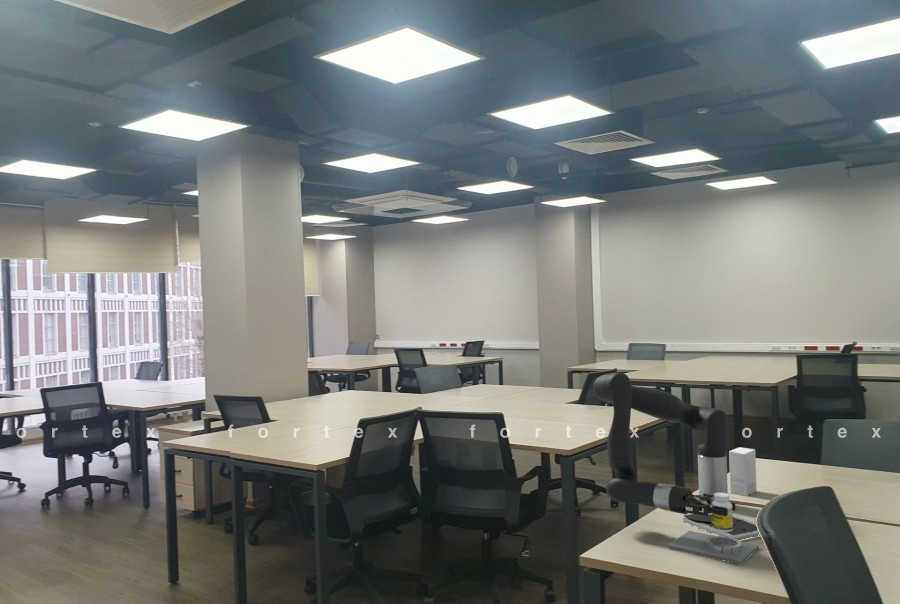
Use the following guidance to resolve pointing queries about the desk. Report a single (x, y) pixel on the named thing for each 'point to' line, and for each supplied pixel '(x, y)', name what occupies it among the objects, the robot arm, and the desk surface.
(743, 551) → the grey flat rectangular slab
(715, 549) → the steel ring collar
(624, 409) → the robot arm
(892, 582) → the desk surface
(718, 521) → the supplement bottle
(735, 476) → the skincare box
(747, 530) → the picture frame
